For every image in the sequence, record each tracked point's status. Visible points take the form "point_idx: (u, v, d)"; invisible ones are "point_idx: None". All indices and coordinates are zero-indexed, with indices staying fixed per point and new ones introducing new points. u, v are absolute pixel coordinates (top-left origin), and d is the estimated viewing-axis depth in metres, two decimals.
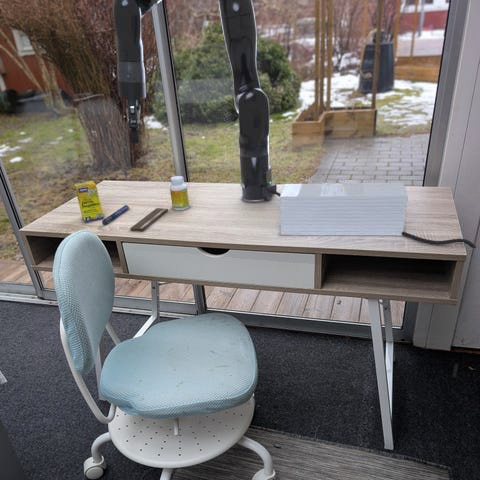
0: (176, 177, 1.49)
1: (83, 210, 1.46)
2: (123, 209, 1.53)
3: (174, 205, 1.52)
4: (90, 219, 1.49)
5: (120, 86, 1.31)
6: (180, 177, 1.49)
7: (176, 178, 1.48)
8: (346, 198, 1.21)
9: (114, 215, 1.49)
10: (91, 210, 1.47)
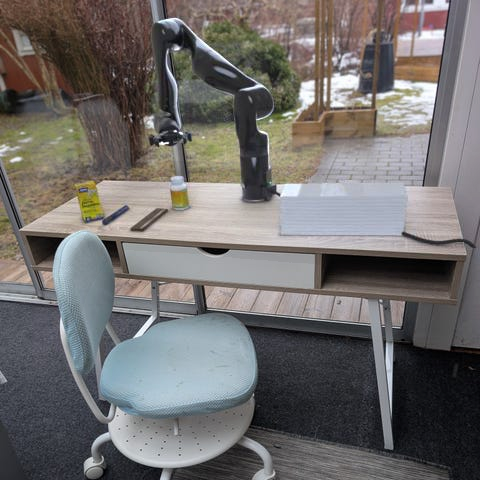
0: (176, 177, 1.49)
1: (83, 210, 1.46)
2: (123, 209, 1.53)
3: (174, 205, 1.52)
4: (90, 219, 1.49)
5: None
6: (180, 177, 1.49)
7: (176, 178, 1.48)
8: (346, 198, 1.21)
9: (114, 215, 1.49)
10: (91, 210, 1.47)
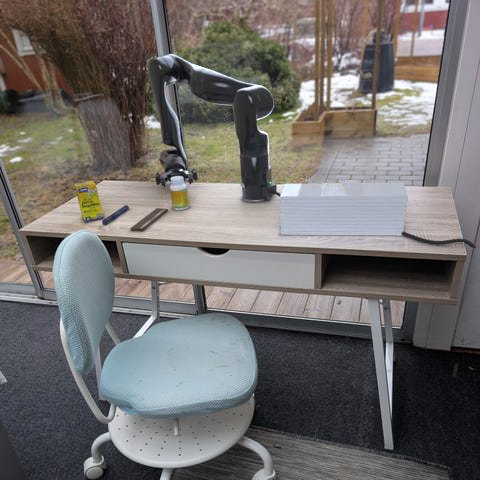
0: (176, 177, 1.49)
1: (83, 210, 1.46)
2: (123, 209, 1.53)
3: (174, 205, 1.52)
4: (90, 219, 1.49)
5: None
6: (180, 177, 1.49)
7: (176, 178, 1.48)
8: (346, 198, 1.21)
9: (114, 215, 1.49)
10: (91, 210, 1.47)
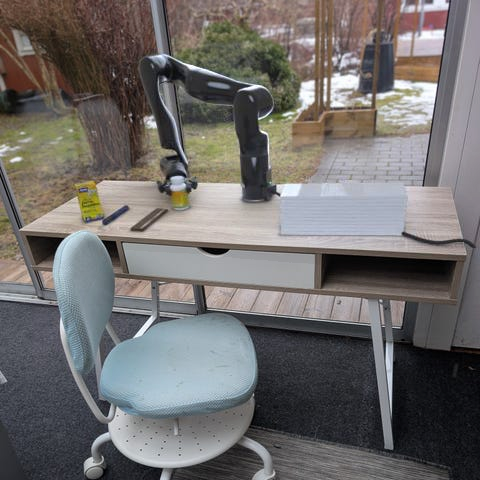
0: (176, 177, 1.49)
1: (83, 210, 1.46)
2: (123, 209, 1.53)
3: (174, 205, 1.52)
4: (90, 219, 1.49)
5: None
6: (180, 177, 1.49)
7: (176, 178, 1.48)
8: (346, 198, 1.21)
9: (114, 215, 1.49)
10: (91, 210, 1.47)
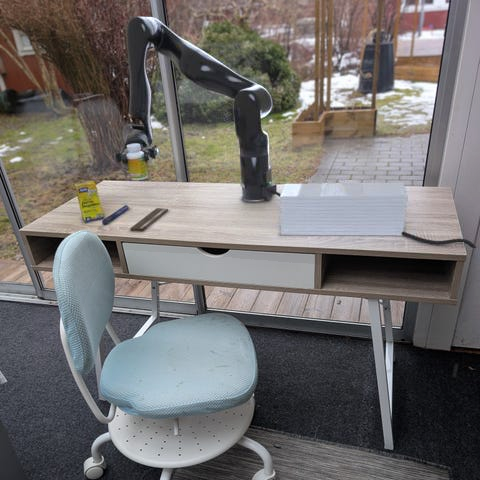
0: (133, 144, 1.39)
1: (83, 210, 1.46)
2: (123, 209, 1.53)
3: (131, 175, 1.42)
4: (90, 219, 1.49)
5: None
6: (137, 144, 1.39)
7: (132, 145, 1.39)
8: (346, 198, 1.21)
9: (114, 215, 1.49)
10: (91, 210, 1.47)
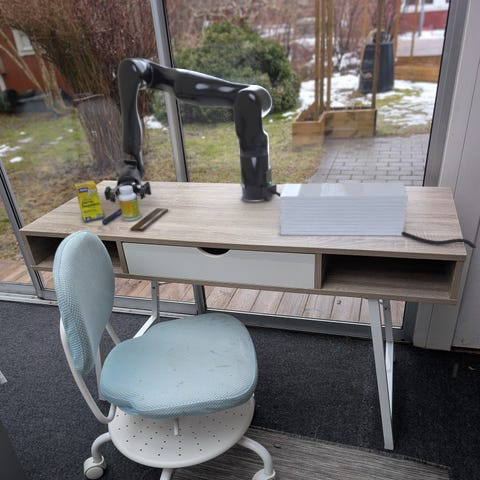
0: (125, 187, 1.44)
1: (83, 210, 1.46)
2: None
3: (124, 215, 1.47)
4: (90, 219, 1.49)
5: None
6: (129, 187, 1.44)
7: (125, 188, 1.43)
8: (346, 198, 1.21)
9: (114, 215, 1.49)
10: (91, 210, 1.47)
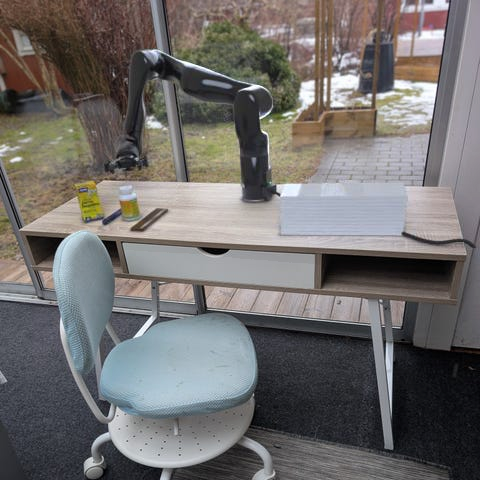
0: (125, 187, 1.44)
1: (83, 210, 1.46)
2: None
3: (124, 215, 1.47)
4: (90, 219, 1.49)
5: None
6: (129, 187, 1.44)
7: (125, 188, 1.43)
8: (346, 198, 1.21)
9: (114, 215, 1.49)
10: (91, 210, 1.47)
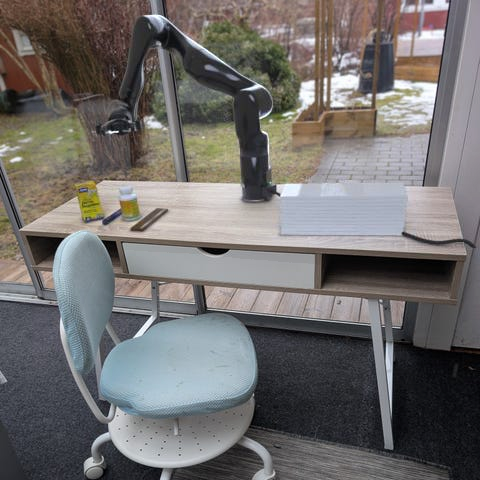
0: (125, 187, 1.44)
1: (83, 210, 1.46)
2: None
3: (124, 215, 1.47)
4: (90, 219, 1.49)
5: None
6: (129, 187, 1.44)
7: (125, 188, 1.43)
8: (346, 198, 1.21)
9: (114, 215, 1.49)
10: (91, 210, 1.47)
